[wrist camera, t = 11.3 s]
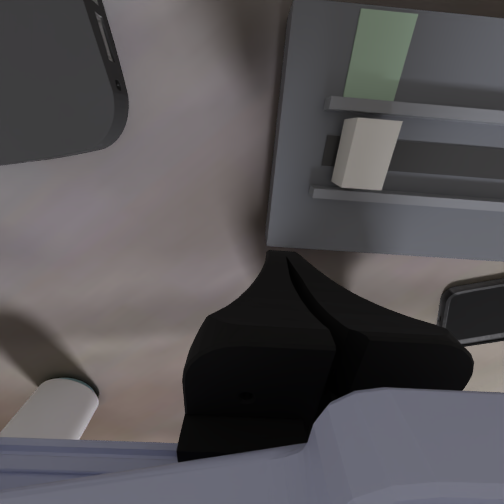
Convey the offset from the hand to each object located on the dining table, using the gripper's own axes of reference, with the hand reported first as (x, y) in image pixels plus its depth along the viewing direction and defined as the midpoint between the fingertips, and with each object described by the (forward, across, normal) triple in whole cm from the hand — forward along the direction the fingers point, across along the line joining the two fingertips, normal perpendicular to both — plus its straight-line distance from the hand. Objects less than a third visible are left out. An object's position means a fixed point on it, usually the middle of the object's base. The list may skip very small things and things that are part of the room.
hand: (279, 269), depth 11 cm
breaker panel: (+9, -11, -5) cm, 15 cm away
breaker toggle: (+7, -5, -5) cm, 10 cm away
